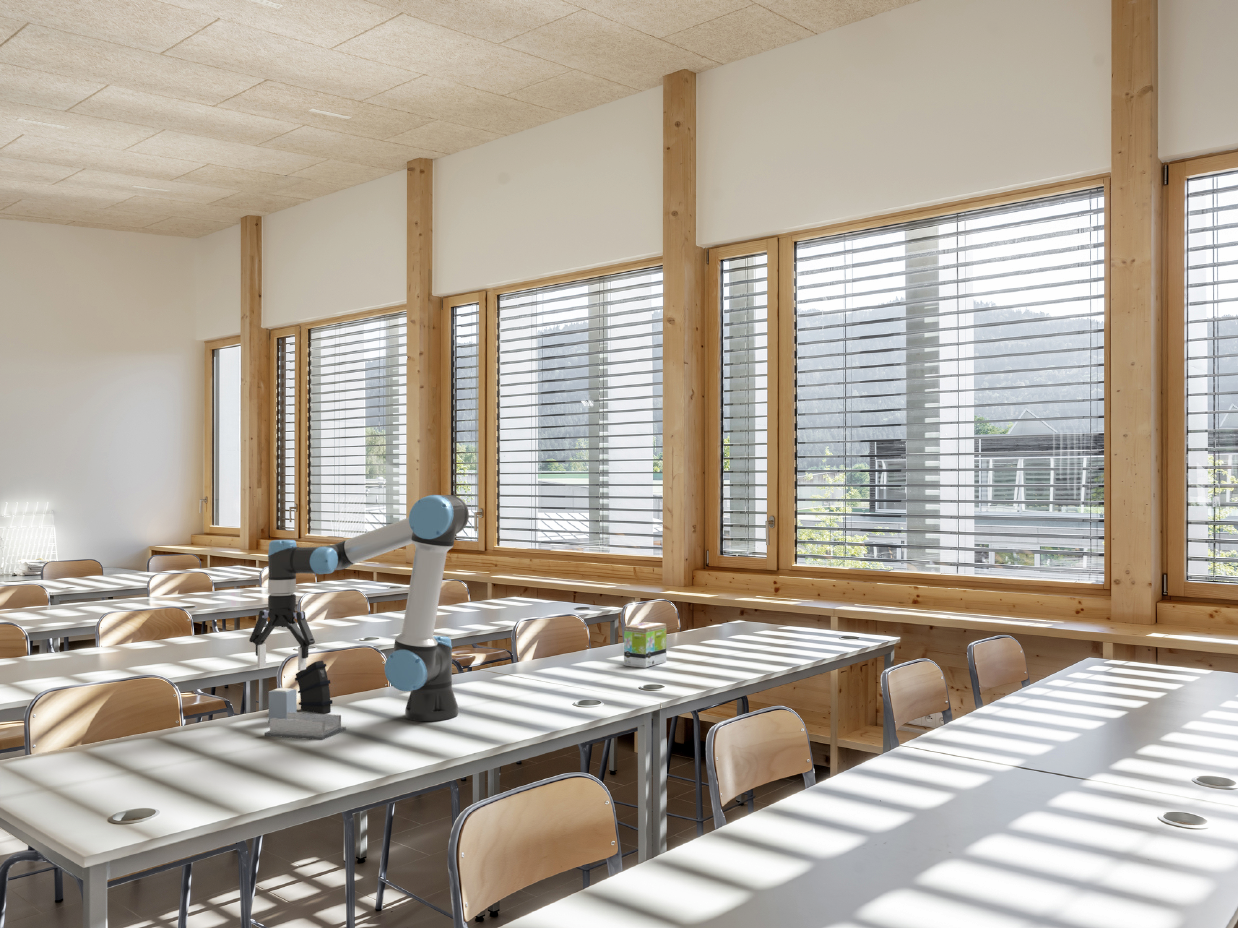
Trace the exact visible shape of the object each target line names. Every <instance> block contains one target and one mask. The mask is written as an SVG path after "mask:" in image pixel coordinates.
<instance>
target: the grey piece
mask: <svg viewBox="0 0 1238 928" xmlns="http://www.w3.org/2000/svg"><path fill="white" fill-rule="evenodd" d="M346 730H347V727H346V726H342V715H341V714H332V713H326V714H319V713H314V712H300V711H299V712H298V711H297V712H287V719H282V718H270V723H269V731H265V732H264V735H266V736H265V737H275V736H282V737H281V738H289V737H292V738H291V739H302V738H309V739H308V740H315V741H316V740H317V741H323V740H325V738H326V739H328V738H330V737H333V736H335V735H338V734H340V733H341V732H344V731H346Z"/></svg>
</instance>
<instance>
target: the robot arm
mask: <svg viewBox="0 0 1238 928" xmlns="http://www.w3.org/2000/svg"><path fill="white" fill-rule="evenodd" d="M469 518H470V512H469V508H468V506H467V504H466V502H465V501H463V499H461V498H460V497H458V496H455V495H452V494H430V495H427V496H424V497H422V498H420V499H418V500H417V501H415V502H414V504H413V505H412V507H411V509H410V511H409V514H408V517H406V518H404V519H402V520H398V521H395V522H393V523H390V524H389V523H388V524H387V525H384V526H381V527H379V528H377V529H373V530H371V531H368V532H365V533H362V534H360V535H356V536H354V537H352V538H348V539H346V540H343V541H340V542H337V543H334V544H331V545H321V546H308V547H307V546H306V547H305V546H303V547H302V546H298V545H297V541H296V540H294V539H274V540H271V541H270V542H269V543H268V553H267V559H268V567H267V568H268V579H267V585H268V586H267V593H268V594H269V595H268V597H267V608H269V610H268V609H264V610H263V609H262V610H259V612H258V619H257V621H256V624H255V626H254V628H253V630H252V632H251V635H250V637H249V643H253V644H254V645H255V656H256V657H257V669H262V668H266V667H267V644H266V642H265V641H266V640H267V639H268V637H269V636H270V635H271V634H272V632H273V630H274V629H275V628H278V627H279V628H280V627H281V628H287V630H289V631H290V633H291V634H292V636H293V637H294V639H295V640H296V641H297V643H298V645H299V647H298V648H297V652H298V653H297V659H298V660H297V670H298V672H300V671H301V670H305V669H306V667H307V659H308V657H309V648H310V646H312V645H314V644H315V643H316V641H315V638H314V636H313V633H312V630H311V629H310V626H309V624H308V622H307V619H306V612H305V611H304V610H302V611H297V612H296V606H297V602H296V601H297V595H296V594H295V593H296V592H297V579H296V578H297V574H311V575H312V574H313V575H317V574H318V575H325V574H326V575H327V574H332V573H334V572H335V571H341V570H345V569H347V568H350V566H352V565H355V564H358V563H361V562H364V561H366V560H370V559H373V558H375V557H377V556H381V555H383V554H386V553H388V552H392V551H394V550H397V549H400V548H402V547H403V548H404V547H406V546H408V545H412V544H413V546H414V547H415V551H414V557H413V563H412V569H411V576H410V580H409V581H410V582H409V587H408V593H407V599H406V606H405V612H404V618H403V624H402V625H403V626H402V630H401V633H400V634H398V635H396V636H395V638H394V639H395V640H394V644H393V650H392V651H393V652H391V653H390V654H389V655H388V657H387V659H386V660H385V663H384V668H383V669H384V674H385V677H386V679H387V681H388V682H389V684H390V685H391V687H393V688H394V689H396V690H397V691H402V692H410V693H409V696H408V699H407V703H406V706H405V711H404V712H405V713H404V715H405V716H404V717H405V719H407V720H410V721H415V722H437V721H444V720H449V719H452V718H455V717H457V716H458V715H459V705H458V702H457V699H456V697H455V693H454V690H453V676H452V675H453V663H452V662H453V660H452V659H453V656H452V655H453V651H452V650H453V646H452V640H451V637H449V636H444V635H434V634H435V633H434V632H435V628H436V621H437V614H438V608H439V602H440V596H441V590H442V584H443V579H444V573H445V571H444V570H445V567H446V559H447V555H448V554H447V553H448V552H449V550H451V549H452V548H454V545H455V539H456V535H458V534H459V533H461V532H462V531H463V530H464V529H465V528H466V526H467V525H468V522H469ZM268 618H269V621H268V622H267V620H268ZM295 619H296V620H295Z"/></svg>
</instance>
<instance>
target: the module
mask: <svg viewBox="0 0 1238 928" xmlns="http://www.w3.org/2000/svg"><path fill="white" fill-rule="evenodd" d="M297 699H298V698H297V689H296V688H294V689H293V688H287V687H286V688H285V687H279V688H278V687H277V688H275V689H272V690H270V691H268V724H270V718H282V719H287V712H298V711H297V710H298V709H297V708H298V707H297V706H298V705H297V701H298V700H297Z"/></svg>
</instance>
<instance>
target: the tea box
mask: <svg viewBox="0 0 1238 928" xmlns="http://www.w3.org/2000/svg"><path fill="white" fill-rule="evenodd" d="M623 630H624V631H623V632H624V634H623V643H624V644H623V666H626V667H633V668H643V669H644V668H645V669H647V668H648V667H651V666H655V665H656V666H657V665H658V664H663V663H667V623H663V622H662V623H661V622H649V621H648V622H647V621H644V622H639V623H638V622H637V623H635V624H629V625H624V628H623Z"/></svg>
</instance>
